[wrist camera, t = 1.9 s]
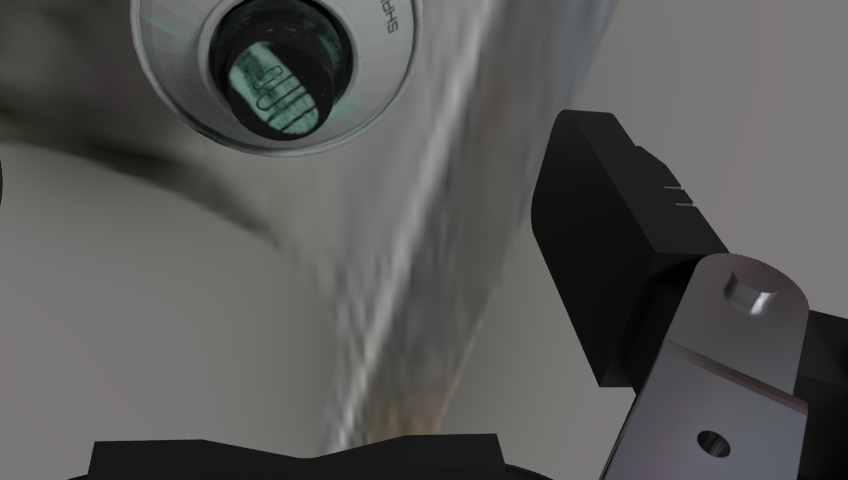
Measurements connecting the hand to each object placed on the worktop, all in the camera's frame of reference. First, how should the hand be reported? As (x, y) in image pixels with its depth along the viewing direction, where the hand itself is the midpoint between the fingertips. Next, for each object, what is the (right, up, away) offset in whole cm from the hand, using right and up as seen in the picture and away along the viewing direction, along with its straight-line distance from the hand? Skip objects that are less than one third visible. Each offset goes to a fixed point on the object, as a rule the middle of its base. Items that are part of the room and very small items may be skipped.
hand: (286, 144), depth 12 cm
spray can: (-3, +13, +17) cm, 22 cm away
